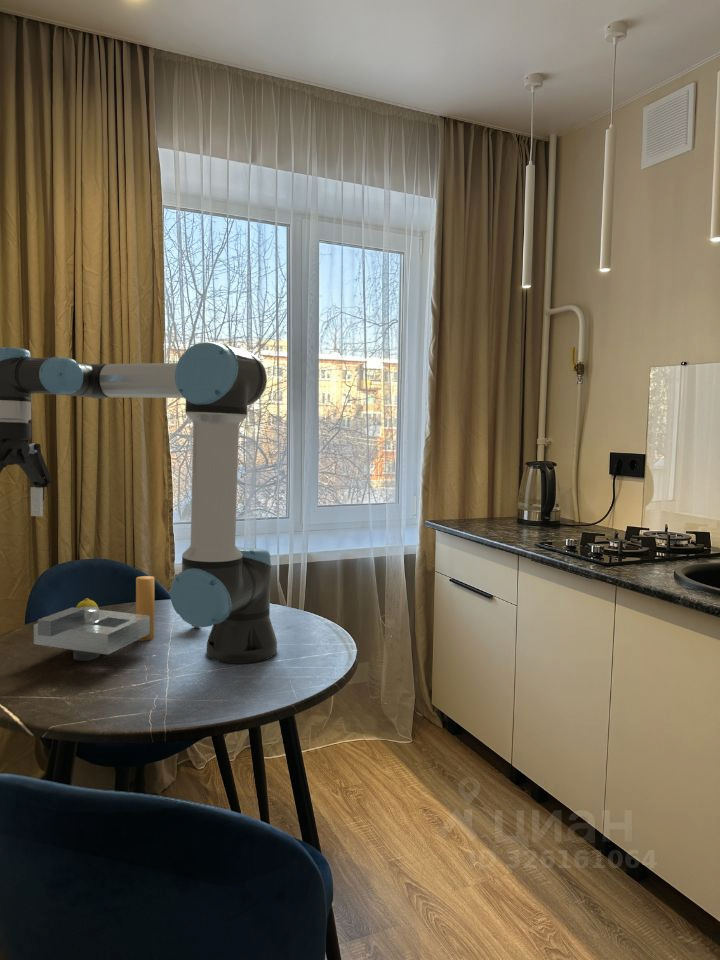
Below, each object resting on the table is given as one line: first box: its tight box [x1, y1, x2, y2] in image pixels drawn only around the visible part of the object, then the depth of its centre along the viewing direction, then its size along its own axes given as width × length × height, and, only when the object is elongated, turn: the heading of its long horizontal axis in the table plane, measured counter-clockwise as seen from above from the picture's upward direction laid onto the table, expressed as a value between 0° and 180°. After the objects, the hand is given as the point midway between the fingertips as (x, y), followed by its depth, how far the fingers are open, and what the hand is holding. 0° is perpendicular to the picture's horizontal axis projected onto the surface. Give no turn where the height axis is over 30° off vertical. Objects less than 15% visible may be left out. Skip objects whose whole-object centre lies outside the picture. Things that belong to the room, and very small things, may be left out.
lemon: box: [75, 597, 99, 608], centre depth 154 cm, size 6×6×8 cm
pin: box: [135, 575, 155, 642], centre depth 151 cm, size 4×4×14 cm
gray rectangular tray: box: [33, 607, 150, 662], centre depth 135 cm, size 18×19×11 cm
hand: (12, 519), depth 142 cm, fingers open, 13 cm apart
